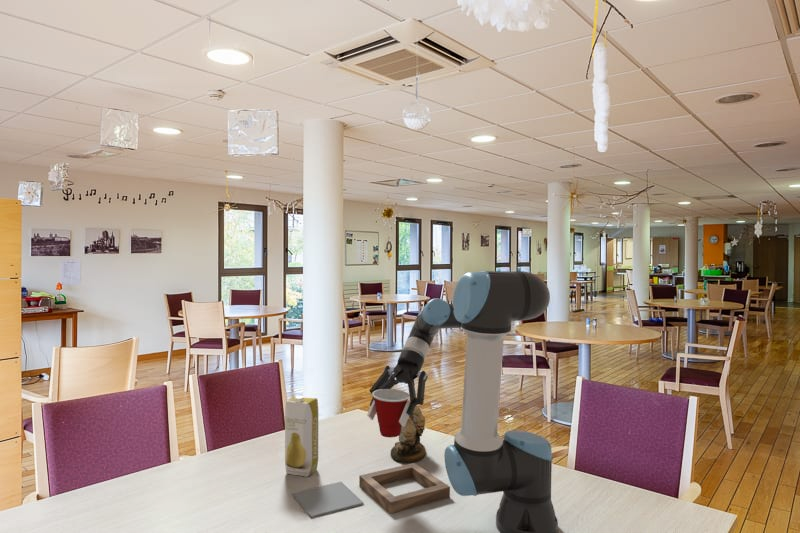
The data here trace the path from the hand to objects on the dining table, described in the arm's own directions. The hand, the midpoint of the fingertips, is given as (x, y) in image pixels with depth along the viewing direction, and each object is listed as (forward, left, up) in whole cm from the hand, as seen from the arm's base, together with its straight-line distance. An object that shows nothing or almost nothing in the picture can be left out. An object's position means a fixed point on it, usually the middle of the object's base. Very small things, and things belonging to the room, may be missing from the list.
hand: (385, 420), depth 149 cm
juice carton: (+26, +16, -21) cm, 37 cm away
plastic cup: (+2, -3, -5) cm, 6 cm away
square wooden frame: (-1, -5, -21) cm, 22 cm away
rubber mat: (+5, +16, -21) cm, 27 cm away
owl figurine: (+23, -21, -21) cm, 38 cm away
